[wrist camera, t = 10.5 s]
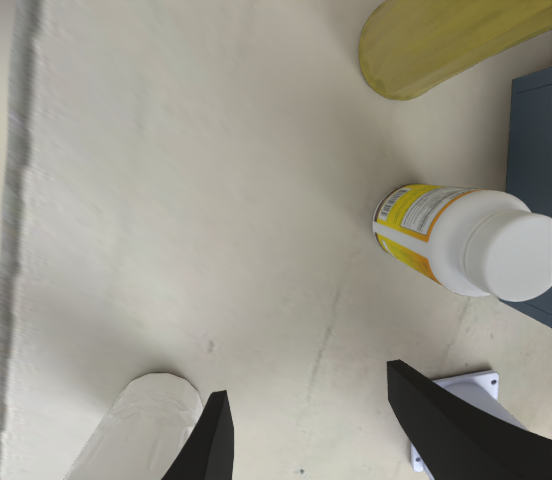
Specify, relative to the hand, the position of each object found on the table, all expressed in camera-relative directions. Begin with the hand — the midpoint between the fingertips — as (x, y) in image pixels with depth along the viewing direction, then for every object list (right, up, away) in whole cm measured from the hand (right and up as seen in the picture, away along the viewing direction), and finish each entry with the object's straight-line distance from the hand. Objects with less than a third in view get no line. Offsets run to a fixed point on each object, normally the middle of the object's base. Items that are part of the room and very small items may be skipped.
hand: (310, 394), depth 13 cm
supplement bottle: (+8, +8, +10) cm, 15 cm away
